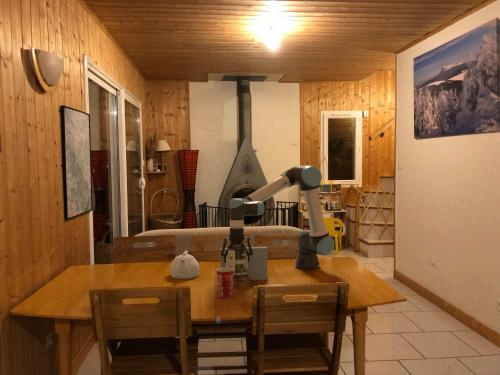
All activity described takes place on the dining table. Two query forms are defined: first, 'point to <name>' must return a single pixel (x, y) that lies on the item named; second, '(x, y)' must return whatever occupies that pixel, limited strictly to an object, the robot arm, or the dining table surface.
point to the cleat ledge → (242, 281)
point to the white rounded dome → (184, 267)
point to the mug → (225, 282)
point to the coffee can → (237, 259)
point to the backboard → (254, 263)
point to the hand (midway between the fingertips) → (236, 268)
